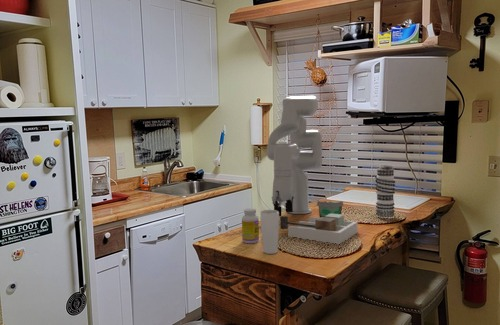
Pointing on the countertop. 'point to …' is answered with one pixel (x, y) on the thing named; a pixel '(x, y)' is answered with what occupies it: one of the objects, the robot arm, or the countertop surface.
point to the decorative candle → (385, 191)
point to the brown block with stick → (320, 224)
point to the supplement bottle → (250, 226)
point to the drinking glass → (270, 230)
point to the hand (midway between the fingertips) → (283, 214)
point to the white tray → (324, 231)
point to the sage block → (337, 218)
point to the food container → (329, 208)
